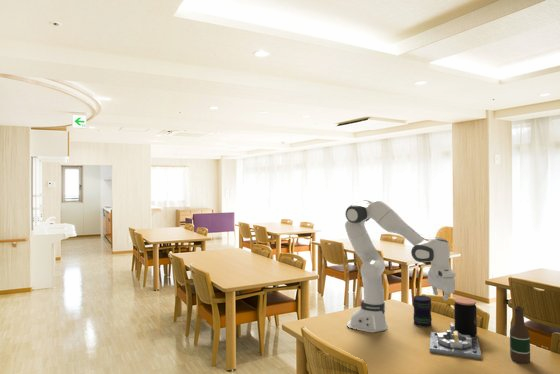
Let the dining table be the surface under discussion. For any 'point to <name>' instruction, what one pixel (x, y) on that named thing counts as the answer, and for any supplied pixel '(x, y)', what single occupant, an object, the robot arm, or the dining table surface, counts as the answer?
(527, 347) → the beer bottle
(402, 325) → the dining table surface
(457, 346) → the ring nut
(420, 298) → the storage jar
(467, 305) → the coffee jar
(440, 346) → the flange plate
